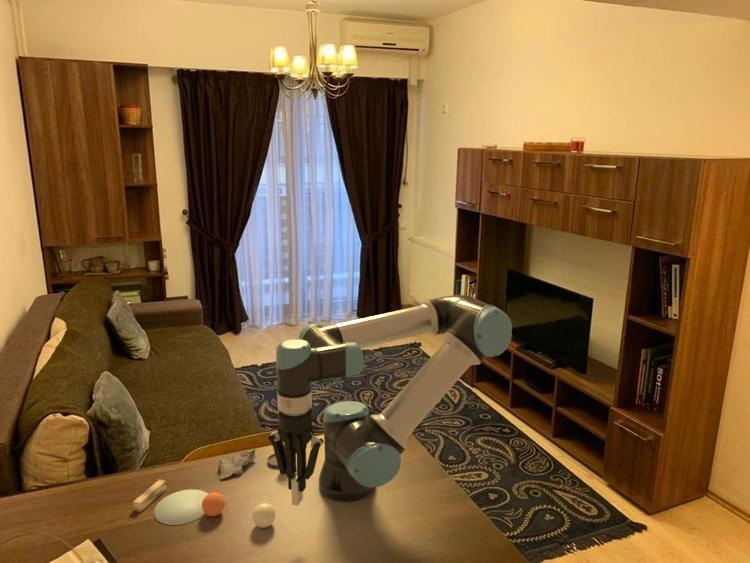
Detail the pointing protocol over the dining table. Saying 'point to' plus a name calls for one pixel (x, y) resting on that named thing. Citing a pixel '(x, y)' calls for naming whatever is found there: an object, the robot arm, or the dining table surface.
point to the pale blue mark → (180, 507)
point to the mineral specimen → (235, 463)
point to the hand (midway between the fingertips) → (297, 501)
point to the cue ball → (263, 515)
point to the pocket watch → (273, 459)
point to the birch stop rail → (149, 495)
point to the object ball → (213, 504)
